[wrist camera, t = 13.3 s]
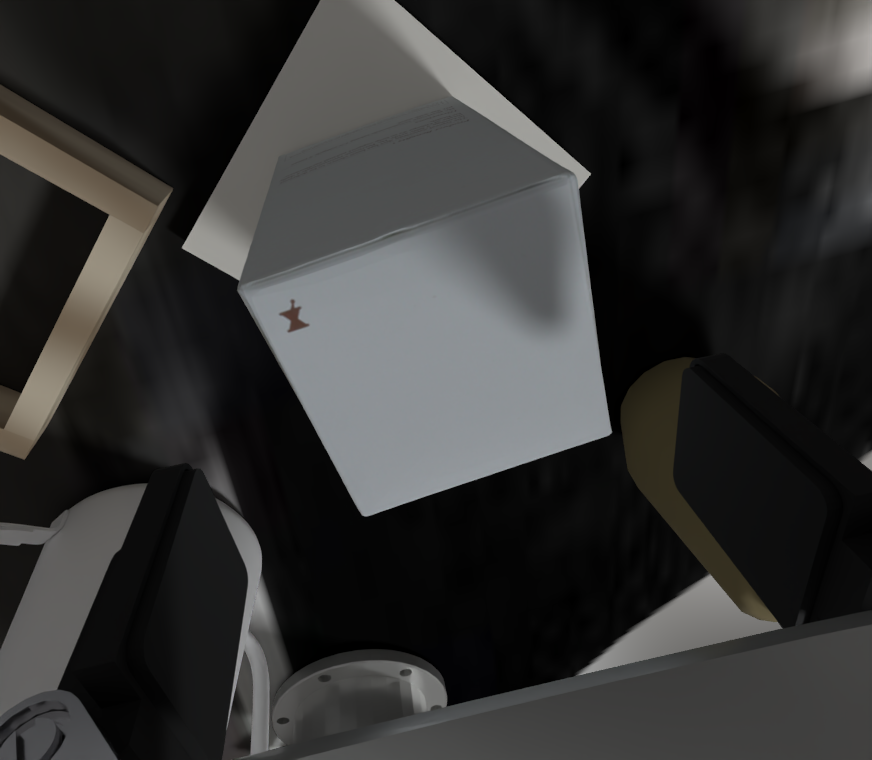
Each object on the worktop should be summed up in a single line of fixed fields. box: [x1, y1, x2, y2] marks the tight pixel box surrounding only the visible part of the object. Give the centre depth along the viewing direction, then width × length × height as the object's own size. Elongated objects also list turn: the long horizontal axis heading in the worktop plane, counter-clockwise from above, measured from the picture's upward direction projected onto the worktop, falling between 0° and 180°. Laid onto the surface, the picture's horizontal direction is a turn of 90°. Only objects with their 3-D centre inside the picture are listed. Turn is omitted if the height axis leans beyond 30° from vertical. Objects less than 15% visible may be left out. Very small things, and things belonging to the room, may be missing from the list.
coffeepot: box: [0, 483, 270, 755], centre depth 25 cm, size 11×25×19 cm, turn 40°
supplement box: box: [237, 96, 612, 516], centre depth 19 cm, size 7×7×13 cm
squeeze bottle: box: [621, 357, 783, 628], centre depth 25 cm, size 8×8×18 cm
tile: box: [182, 0, 591, 280], centre depth 24 cm, size 12×12×1 cm
